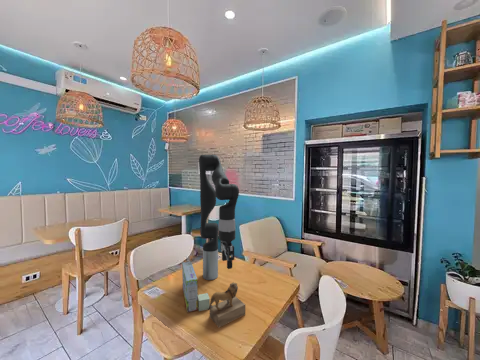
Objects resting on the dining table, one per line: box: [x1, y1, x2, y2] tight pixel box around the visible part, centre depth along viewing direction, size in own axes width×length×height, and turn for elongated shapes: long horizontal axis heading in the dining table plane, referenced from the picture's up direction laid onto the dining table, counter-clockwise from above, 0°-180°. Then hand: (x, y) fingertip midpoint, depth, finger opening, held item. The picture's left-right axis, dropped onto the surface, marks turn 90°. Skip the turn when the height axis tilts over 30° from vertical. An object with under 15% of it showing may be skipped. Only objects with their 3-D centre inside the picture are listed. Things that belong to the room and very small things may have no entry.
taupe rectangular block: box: [209, 295, 246, 328], centre depth 94 cm, size 8×14×5 cm, turn 126°
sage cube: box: [198, 292, 211, 312], centre depth 100 cm, size 5×5×5 cm
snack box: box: [181, 261, 199, 313], centre depth 106 cm, size 21×6×15 cm, turn 21°
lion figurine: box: [207, 281, 239, 311], centre depth 93 cm, size 15×5×9 cm, turn 121°
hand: (226, 264), depth 94 cm, fingers open, 8 cm apart
